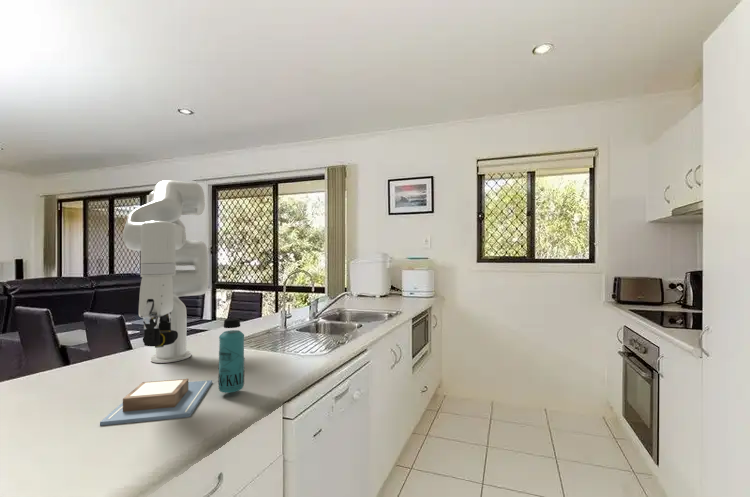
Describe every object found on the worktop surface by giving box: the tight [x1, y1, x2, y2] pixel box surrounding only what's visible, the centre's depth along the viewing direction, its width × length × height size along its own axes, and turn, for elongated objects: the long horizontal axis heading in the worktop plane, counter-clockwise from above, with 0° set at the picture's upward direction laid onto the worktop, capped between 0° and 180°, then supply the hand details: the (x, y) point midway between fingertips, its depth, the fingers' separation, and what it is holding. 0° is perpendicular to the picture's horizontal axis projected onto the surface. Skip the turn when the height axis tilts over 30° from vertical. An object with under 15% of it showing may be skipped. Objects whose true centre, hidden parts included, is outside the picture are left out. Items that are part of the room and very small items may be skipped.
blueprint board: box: [99, 378, 213, 427], centre depth 90 cm, size 22×18×4 cm
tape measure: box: [142, 330, 178, 349], centre depth 89 cm, size 7×7×4 cm
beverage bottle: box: [217, 317, 246, 394], centre depth 95 cm, size 6×7×20 cm
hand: (158, 340), depth 89 cm, fingers closed on tape measure, 6 cm apart
